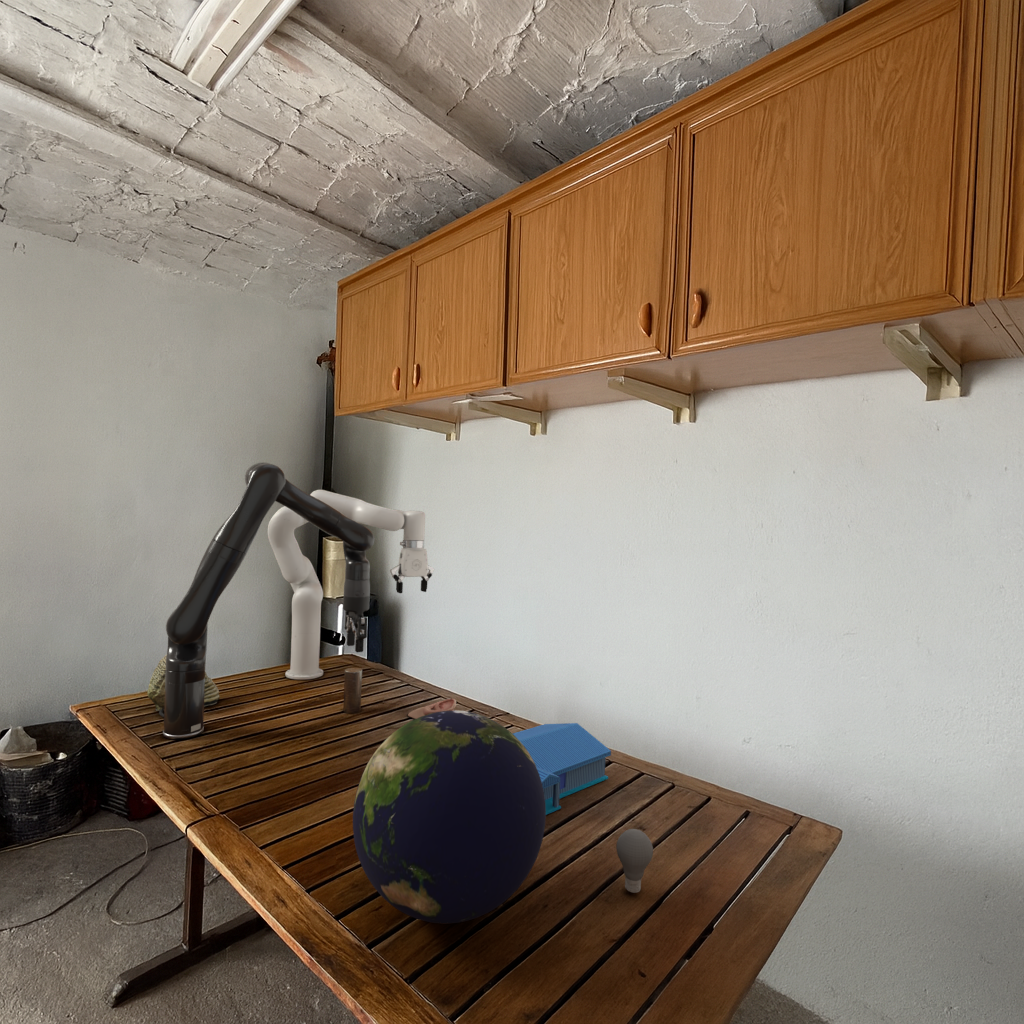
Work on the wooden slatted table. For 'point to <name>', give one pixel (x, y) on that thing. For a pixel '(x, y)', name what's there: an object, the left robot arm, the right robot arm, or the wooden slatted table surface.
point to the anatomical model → (434, 708)
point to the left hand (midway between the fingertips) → (354, 648)
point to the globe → (449, 817)
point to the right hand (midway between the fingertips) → (411, 592)
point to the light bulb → (634, 857)
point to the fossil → (158, 687)
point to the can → (352, 690)
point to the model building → (564, 759)
